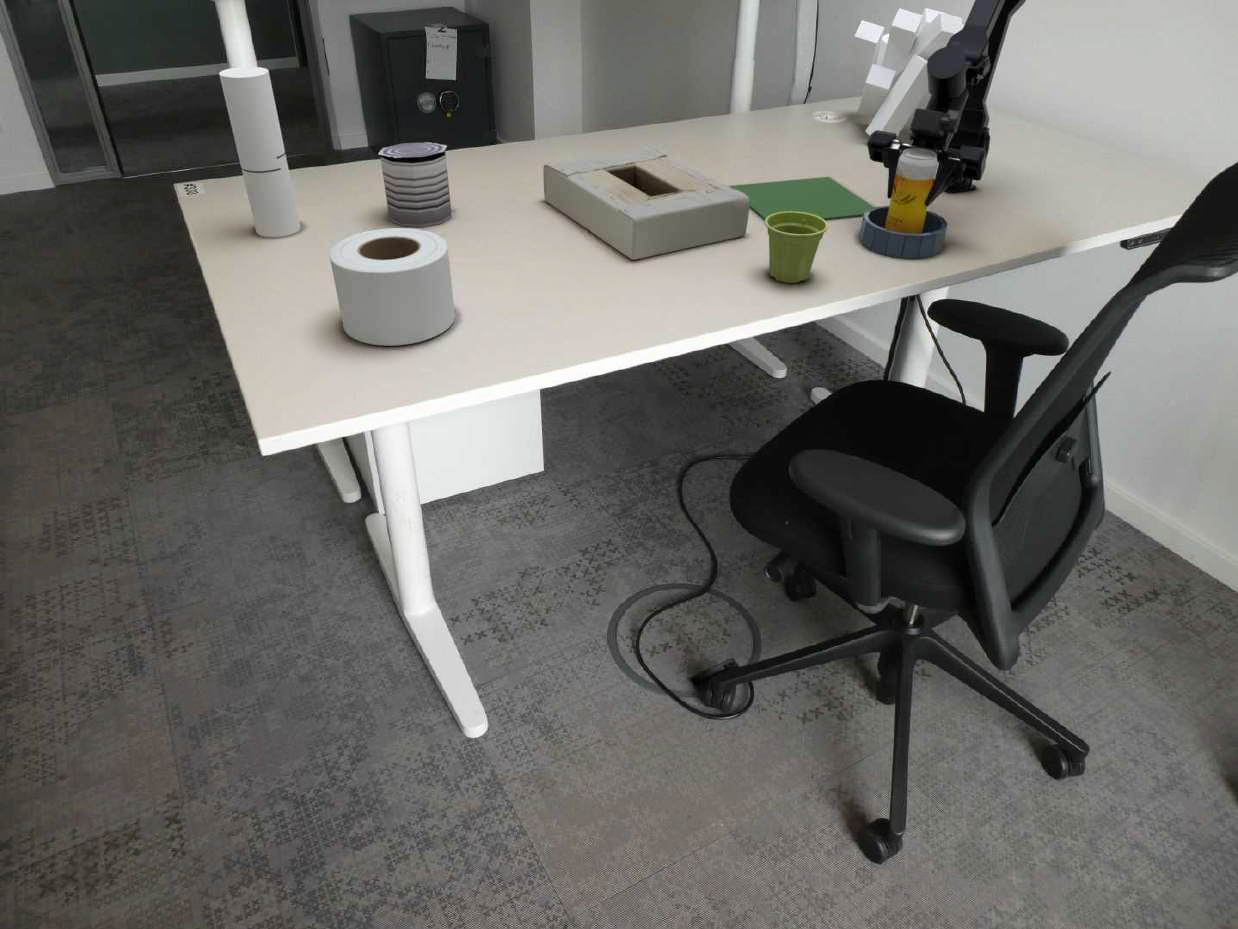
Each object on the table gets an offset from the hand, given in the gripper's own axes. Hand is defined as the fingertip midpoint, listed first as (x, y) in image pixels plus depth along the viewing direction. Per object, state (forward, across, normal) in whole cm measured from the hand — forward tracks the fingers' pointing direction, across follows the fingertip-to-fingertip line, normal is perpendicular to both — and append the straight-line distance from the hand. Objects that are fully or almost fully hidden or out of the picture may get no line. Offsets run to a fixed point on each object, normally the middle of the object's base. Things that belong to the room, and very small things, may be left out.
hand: (907, 201), depth 144 cm
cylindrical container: (+43, -91, -32) cm, 106 cm away
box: (+15, -42, -4) cm, 45 cm away
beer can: (+4, 0, +6) cm, 8 cm away
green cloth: (-2, -22, +13) cm, 25 cm away
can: (+30, -75, -19) cm, 83 cm away
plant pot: (+21, -11, -10) cm, 26 cm away
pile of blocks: (-41, -21, +52) cm, 69 cm away
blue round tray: (+4, 0, +6) cm, 8 cm away
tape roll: (+53, -51, -42) cm, 84 cm away
